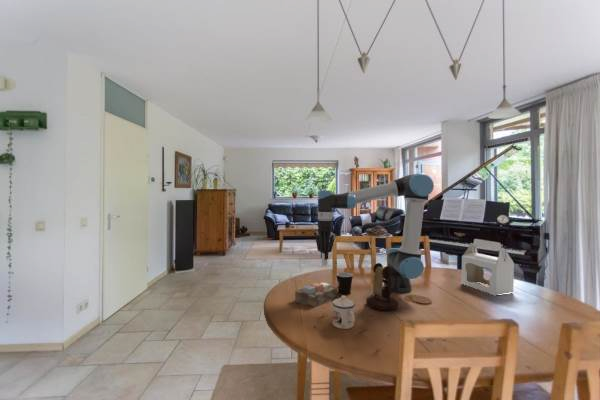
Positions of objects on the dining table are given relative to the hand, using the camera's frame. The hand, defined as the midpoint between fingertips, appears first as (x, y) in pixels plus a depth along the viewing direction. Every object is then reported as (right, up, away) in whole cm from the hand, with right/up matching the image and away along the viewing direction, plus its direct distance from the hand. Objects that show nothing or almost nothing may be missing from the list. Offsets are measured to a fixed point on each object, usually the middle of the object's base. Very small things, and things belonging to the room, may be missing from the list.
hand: (324, 265), depth 150 cm
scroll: (+26, -17, -12) cm, 34 cm away
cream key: (0, -15, 0) cm, 15 cm away
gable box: (+95, -18, +17) cm, 98 cm away
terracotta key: (-4, -14, -4) cm, 15 cm away
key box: (-4, -16, -4) cm, 17 cm away
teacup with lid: (+6, -17, -33) cm, 38 cm away
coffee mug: (+11, -17, +7) cm, 21 cm away
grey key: (-8, -14, -9) cm, 18 cm away
